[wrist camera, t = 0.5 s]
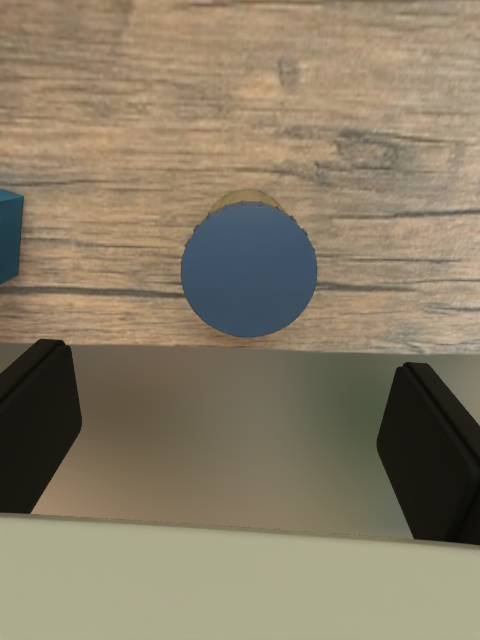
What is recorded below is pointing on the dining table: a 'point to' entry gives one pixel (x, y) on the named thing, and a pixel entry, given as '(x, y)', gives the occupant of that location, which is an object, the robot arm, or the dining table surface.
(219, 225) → the lid
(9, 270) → the perfume bottle
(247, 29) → the dining table surface
